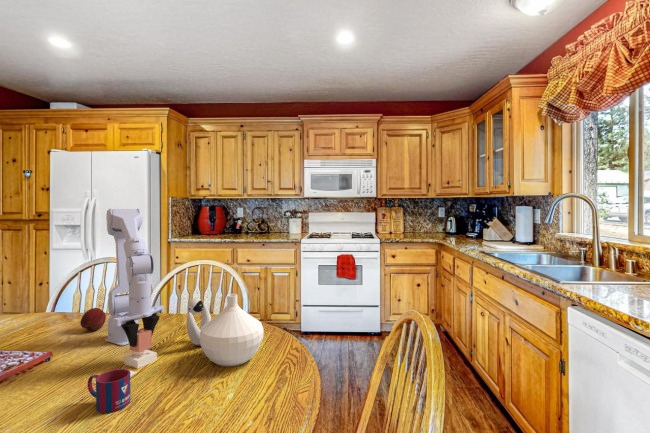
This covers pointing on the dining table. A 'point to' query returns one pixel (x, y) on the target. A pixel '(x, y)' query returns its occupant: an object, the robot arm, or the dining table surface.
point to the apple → (93, 319)
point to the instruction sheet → (130, 374)
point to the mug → (111, 390)
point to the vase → (231, 335)
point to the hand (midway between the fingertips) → (140, 343)
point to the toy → (192, 328)
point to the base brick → (140, 358)
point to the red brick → (143, 340)
